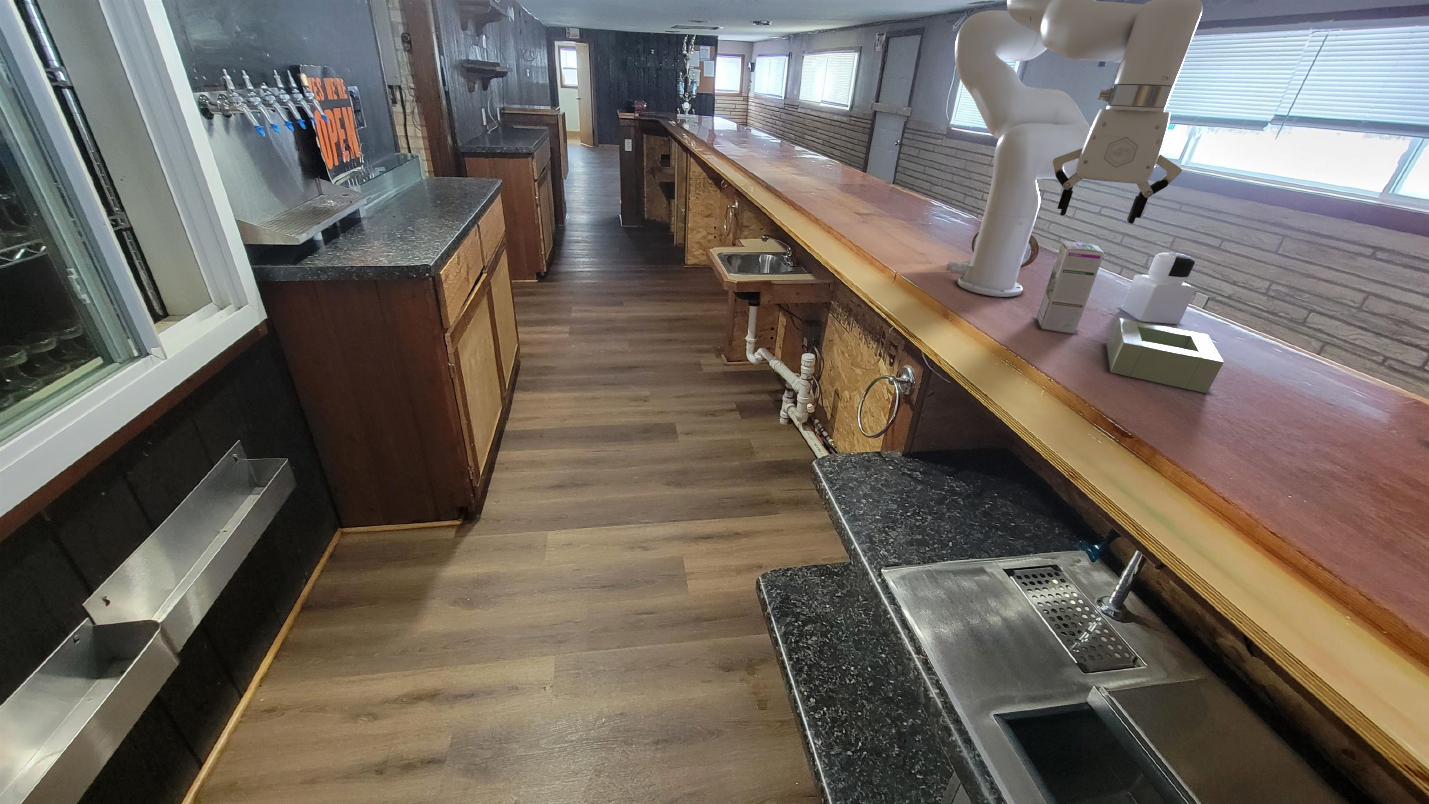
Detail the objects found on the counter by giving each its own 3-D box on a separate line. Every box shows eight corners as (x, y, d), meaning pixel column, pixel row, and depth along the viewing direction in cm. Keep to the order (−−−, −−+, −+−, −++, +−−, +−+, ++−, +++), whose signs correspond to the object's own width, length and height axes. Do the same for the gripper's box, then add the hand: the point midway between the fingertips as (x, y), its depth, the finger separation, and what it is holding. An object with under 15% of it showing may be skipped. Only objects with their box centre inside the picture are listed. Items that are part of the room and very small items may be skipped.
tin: (1032, 270, 134) (1044, 235, 129) (1027, 273, 132) (1039, 236, 127) (971, 256, 143) (980, 222, 139) (965, 258, 141) (975, 224, 137)
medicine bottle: (1157, 311, 111) (1185, 251, 106) (1179, 325, 105) (1210, 261, 99) (1119, 308, 112) (1145, 248, 106) (1139, 322, 106) (1167, 258, 100)
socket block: (1110, 372, 86) (1123, 342, 83) (1106, 345, 95) (1118, 318, 92) (1206, 393, 81) (1224, 362, 78) (1193, 363, 90) (1207, 334, 88)
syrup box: (1075, 334, 99) (1108, 252, 92) (1039, 329, 100) (1067, 247, 93) (1069, 323, 104) (1099, 244, 96) (1034, 318, 105) (1061, 240, 98)
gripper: (1072, 97, 85) (1036, 214, 93) (1214, 103, 78) (1161, 229, 86) (1072, 97, 90) (1038, 208, 99) (1204, 103, 83) (1155, 221, 92)
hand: (1095, 218), depth 92 cm, fingers open, 9 cm apart
